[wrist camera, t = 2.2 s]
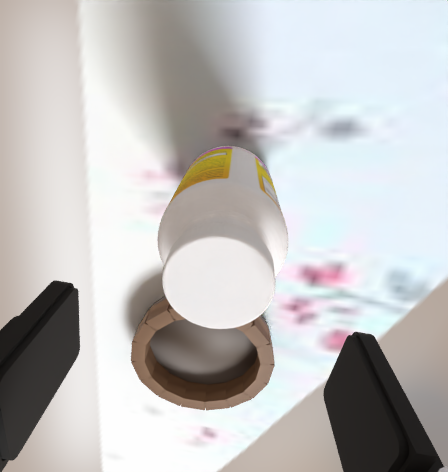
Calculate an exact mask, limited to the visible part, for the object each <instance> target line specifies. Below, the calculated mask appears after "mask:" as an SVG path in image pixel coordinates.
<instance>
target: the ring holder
mask: <svg viewBox="0 0 448 472" xmlns="http://www.w3.org/2000/svg"><path fill="white" fill-rule="evenodd" d="M131 361H132V362H131V363H132V365H133V367H134V369H135V371H136V373H137V375H138V377H139V379H140V380H141V382H142V383H143V384H145V385H146V386H147V387H148V388H149V389H150V390H151V391H152V392H154V393H155V394H156V395H159V397H161V398H163V399H165V400H167V401H170V402H172V403H174V404H176V405H179V406H180V405H181V406H182V407H188V408H194V409H200V410H205V408H206V410H214V409H224V408H230V407H234V406H236V405H239V404H241V403H243V402H246V401H248V400H251V399H252V398H254V397H255V396H256V395H257V394H258V393H259V392H260V391H261V390H262V389H263V388H264V387H265V386H266V385H267V383H269V380H270V377H271V374H272V371H273V368H274V355H273V347H272V342H271V336H270V331H269V328H268V325H267V323H266V321H265V320H264V318H263V317H262V315H260V316H259V317H257V318H256V319H254V320H253V321H251V322H249V323H247V324H245V325H242V326H239V327H235V328H228V329H213V328H207V327H203V326H200V325H197V324H194V323H192V322H190V321H188V320H187V319H185V318H184V317H182V316H181V315H180V314H178V313H177V312H176V311H175V310H174V309H173V307H172V306H171V305H170V303H169V302H168V300H167V298H166V296H165V297H163V298H161V299H160V300H158V301H157V302H156V303H155V304H153V305H152V306H151V307H150V309H149V310H148V311H147V312H146V314H145V316H144V318H143V320H142V321H141V323H140V324H139V326H138V329H137V331H136V333H135V336H134V338H133V341H132V352H131Z"/></svg>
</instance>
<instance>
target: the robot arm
mask: <svg viewBox="0 0 448 472" xmlns="http://www.w3.org/2000/svg"><path fill="white" fill-rule="evenodd" d="M79 350H80V336H79V301H78V289H76V288H74V286H73V284H72V283H67V282H61V281H53V282H51V283H50V285H48V286H47V287H46V289H45V290H44V291H43V292H42V293H41V294H40V295H39V296H38V297H37V298H36V299H35V300H34V301H33V302H32V303H31V304H30V305H29V306H28V307H27V308H26V309H25V310H24V311H23V312H22V313H21V315H19V316H16V317H14V318H13V319H11V320H10V321H9V322H8V323H7V324H6V325H5V326H4V327H3V328H2V329H1V330H0V472H2V470H3V468H4V467H5V466H6V464H7V462H8V461H9V460H14V459H15V458H16V457H17V456H18V454H19V453H20V451H21V450H22V448H23V446H24V445H25V443H26V441H27V440H28V438H29V436H30V435H31V433H32V431H33V430H34V428H35V426H36V425H37V423H38V421H39V420H40V418H41V416H42V415H43V413H44V411H45V410H46V408H47V406H48V405H49V403H50V402H51V400H52V398H53V397H54V395H55V393H56V392H57V390H58V388H59V387H60V385H61V383H62V382H63V380H64V378H65V377H66V375H67V373H68V372H69V370H70V368H71V367H72V365H73V363H74V362H75V360H76V358H77V356H78V354H79ZM324 401H325V404H326V408H327V412H328V415H329V419H330V423H331V427H332V431H333V434H334V438H335V441H336V445H337V449H338V453H339V456H340V460H341V464H342V468H343V471H344V472H448V467H444V466H443V464H442V462H441V460H440V458H439V456H438V454H437V452H436V450H435V448H434V447H433V445H432V443H431V441H430V439H429V437H428V435H427V434H426V432H425V430H424V428H423V426H422V424H421V423H420V421H419V419H418V417H417V415H416V413H415V412H414V409H413V408H412V406H411V404H410V402H409V400H408V398H407V396H406V394H405V393H404V391H403V389H402V387H401V385H400V383H399V381H398V380H397V378H396V376H395V374H394V372H393V370H392V368H391V367H390V365H389V363H388V361H387V359H386V358H385V355H384V354H383V352H382V350H381V349H380V346H379V344H378V342H377V341H376V339H375V337H374V336H373V335H371V334H365V333H360V332H354V333H353V334H352V335H349V336H348V337H347V338H346V341H345V343H344V345H343V347H342V350H341V352H340V354H339V356H338V359H337V361H336V363H335V365H334V368H333V370H332V372H331V374H330V376H329V379H328V381H327V383H326V386H325V388H324Z"/></svg>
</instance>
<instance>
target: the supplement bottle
mask: <svg viewBox="0 0 448 472" xmlns="http://www.w3.org/2000/svg"><path fill="white" fill-rule="evenodd" d="M158 249H159V253H160V257H161V260H162V262H163V264H164V268H163V274H162V285H163V290H164V293H165V296H166V298H167V300H168V302H169V303H170V305H171V306H172V307H173V309H174V310H175V311H176V312H177V313H178V314H180V315H181V316H182V317H184V318H185V319H187V320H188V321H190V322H192V323H194V324H197V325H200V326H203V327H207V328H213V329H228V328H235V327H239V326H242V325H245V324H247V323H249V322H251V321H253V320H254V319H256V318H257V317H259V316H260V315H261V314H262V313H263V312H264V311H265V310H266V309H267V307H268V306H269V304H270V302H271V301H272V298H273V295H274V292H275V277H276V276H277V274H278V273H279V271H280V270H281V268H282V266H283V264H284V262H285V259H286V255H287V251H288V233H287V228H286V224H285V220H284V218H283V215H282V212H281V209H280V205H279V202H278V199H277V195H276V192H275V189H274V186H273V182H272V179H271V176H270V174H269V172H268V170H267V168H266V166H265V165H264V163H263V162H262V161H261V160H260V159H259V158H258V157H257V156H256V155H254V154H253V153H252V152H250V151H248V150H246V149H243V148H240V147H236V146H220V147H215V148H212V149H210V150H208V151H206V152H204V153H203V154H201V155H200V156H199V157H197V158H196V159H195V160H194V162H193V163H192V164H191V165H190V167H189V169H188V170H187V172H186V174H185V176H184V178H183V179H182V181H181V183H180V185H179V187H178V188H177V190H176V192H175V194H174V196H173V198H172V199H171V201H170V203H169V205H168V207H167V208H166V210H165V212H164V215H163V217H162V219H161V222H160V226H159V231H158Z"/></svg>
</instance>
